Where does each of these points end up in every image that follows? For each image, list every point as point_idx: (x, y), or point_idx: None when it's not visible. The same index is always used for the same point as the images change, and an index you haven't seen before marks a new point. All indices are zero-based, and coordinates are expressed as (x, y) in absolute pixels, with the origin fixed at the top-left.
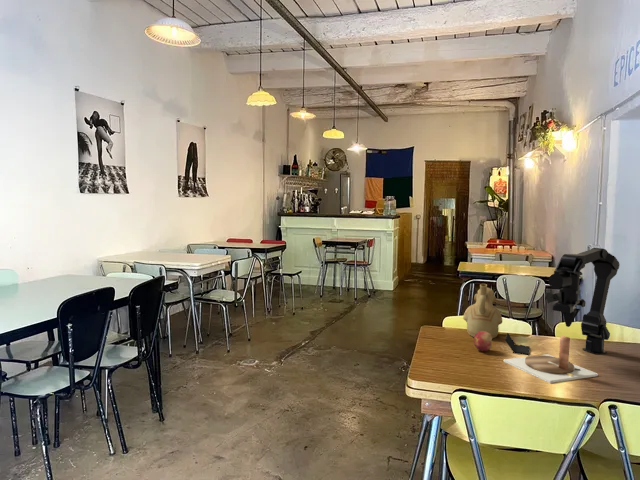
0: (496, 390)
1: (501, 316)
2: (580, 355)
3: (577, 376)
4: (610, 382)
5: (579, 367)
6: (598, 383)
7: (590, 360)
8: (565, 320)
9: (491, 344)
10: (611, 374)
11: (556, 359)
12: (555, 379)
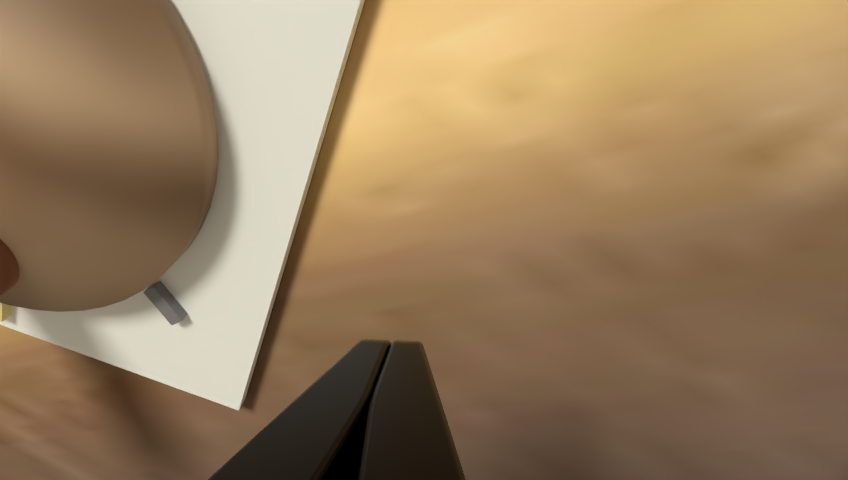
0: None
1: None
2: (756, 164)
3: (39, 335)
4: (203, 461)
5: (250, 293)
6: (114, 422)
7: (626, 279)
8: (238, 476)
9: None
10: None
11: (130, 131)
12: None
